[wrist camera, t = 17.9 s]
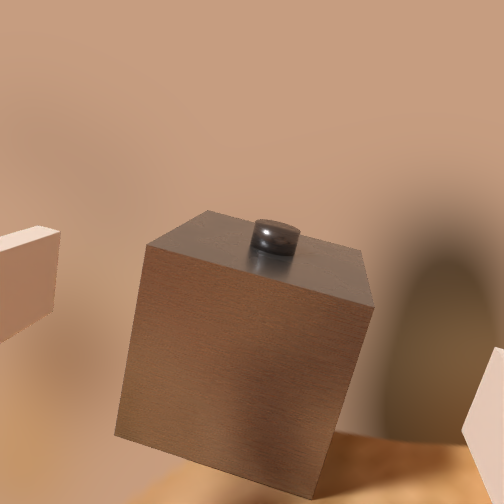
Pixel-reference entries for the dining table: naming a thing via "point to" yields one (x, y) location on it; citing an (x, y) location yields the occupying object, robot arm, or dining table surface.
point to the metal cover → (244, 348)
